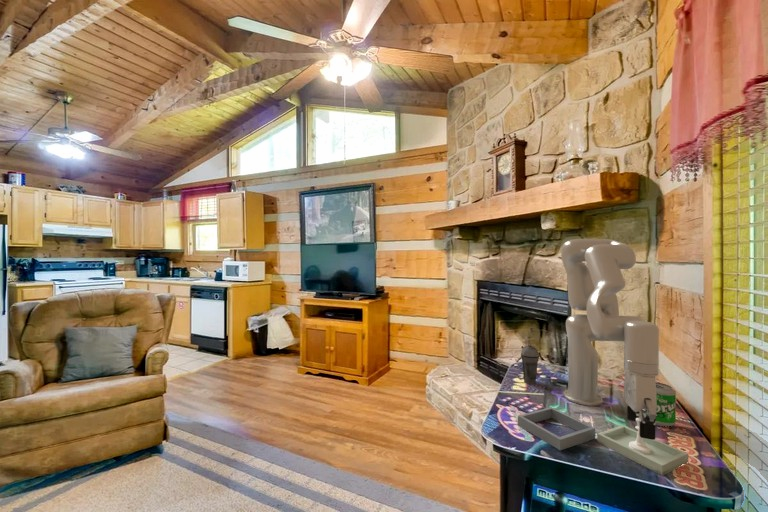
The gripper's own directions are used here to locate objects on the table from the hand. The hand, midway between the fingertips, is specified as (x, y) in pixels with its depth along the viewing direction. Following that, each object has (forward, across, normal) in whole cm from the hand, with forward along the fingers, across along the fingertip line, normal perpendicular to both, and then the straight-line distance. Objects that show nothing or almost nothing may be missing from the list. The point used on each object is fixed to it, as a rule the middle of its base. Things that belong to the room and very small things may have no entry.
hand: (640, 429), depth 91 cm
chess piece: (+6, 0, 0) cm, 6 cm away
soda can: (+7, -22, +12) cm, 26 cm away
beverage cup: (+7, -44, -25) cm, 51 cm away
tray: (+6, 0, 0) cm, 6 cm away
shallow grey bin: (+6, -4, -20) cm, 22 cm away
